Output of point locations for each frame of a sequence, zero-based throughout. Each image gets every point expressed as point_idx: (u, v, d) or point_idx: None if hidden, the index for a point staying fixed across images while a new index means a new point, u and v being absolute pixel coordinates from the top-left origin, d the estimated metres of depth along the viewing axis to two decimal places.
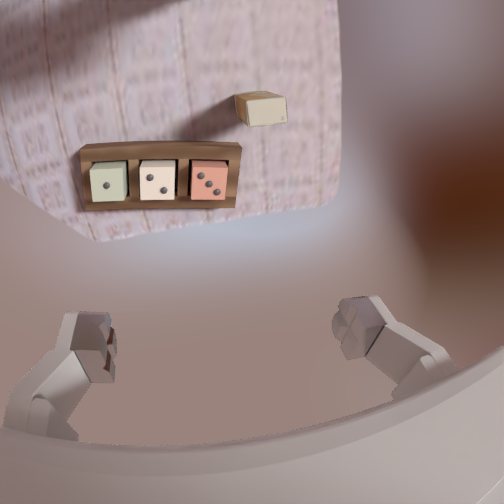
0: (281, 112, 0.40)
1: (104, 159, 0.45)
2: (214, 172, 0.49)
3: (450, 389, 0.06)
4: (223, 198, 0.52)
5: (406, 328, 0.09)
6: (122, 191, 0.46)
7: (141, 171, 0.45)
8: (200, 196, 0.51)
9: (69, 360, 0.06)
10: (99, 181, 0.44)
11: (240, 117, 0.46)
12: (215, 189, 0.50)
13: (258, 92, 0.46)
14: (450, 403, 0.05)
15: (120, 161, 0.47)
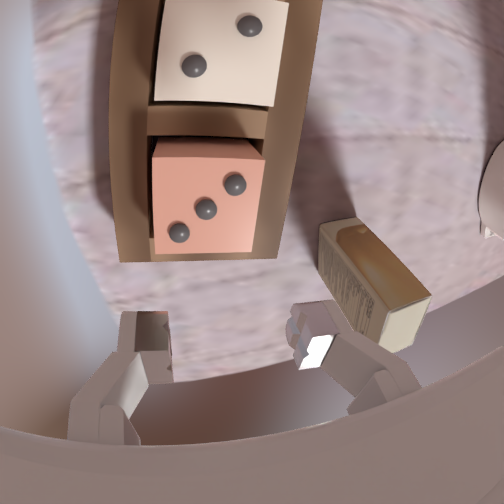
0: (392, 349, 0.21)
1: None
2: (241, 220, 0.17)
3: (450, 389, 0.06)
4: (158, 250, 0.17)
5: (363, 338, 0.08)
6: None
7: (275, 5, 0.10)
8: (162, 185, 0.15)
9: (134, 362, 0.07)
10: None
11: (348, 252, 0.23)
12: (188, 227, 0.17)
13: None
14: (450, 403, 0.05)
15: None
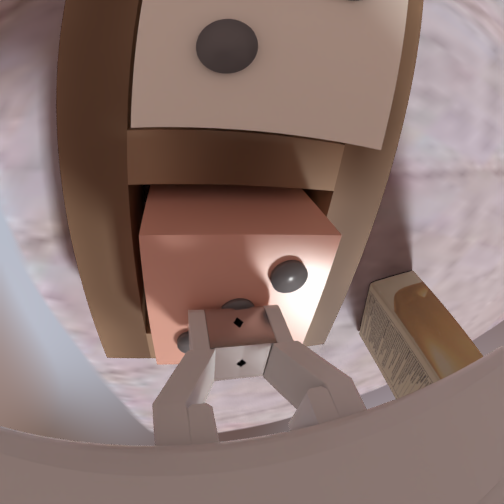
0: None
1: None
2: (291, 321, 0.11)
3: (450, 389, 0.06)
4: (162, 360, 0.11)
5: (303, 349, 0.08)
6: None
7: None
8: (160, 280, 0.08)
9: (211, 359, 0.07)
10: None
11: (411, 329, 0.16)
12: None
13: None
14: (450, 403, 0.05)
15: None
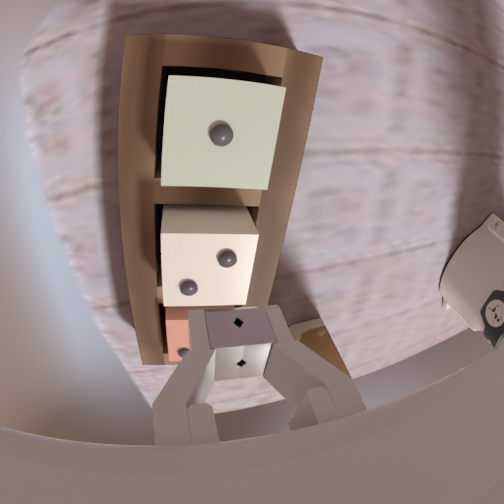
0: None
1: None
2: None
3: (450, 389, 0.06)
4: (171, 359, 0.26)
5: (303, 349, 0.08)
6: (192, 183, 0.16)
7: (247, 238, 0.18)
8: (172, 332, 0.24)
9: (211, 359, 0.07)
10: (238, 110, 0.14)
11: None
12: None
13: None
14: (450, 403, 0.05)
15: None
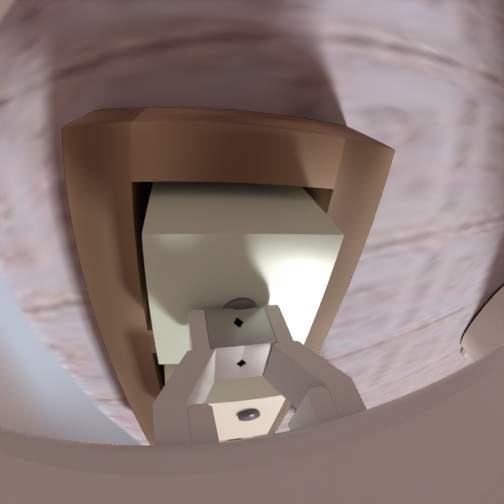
0: None
1: None
2: None
3: (450, 389, 0.06)
4: None
5: (302, 349, 0.08)
6: None
7: (273, 399, 0.14)
8: None
9: (211, 359, 0.07)
10: (266, 278, 0.09)
11: None
12: None
13: None
14: (450, 403, 0.05)
15: None
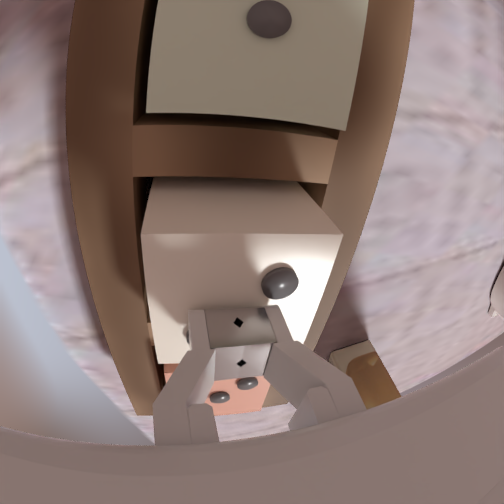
0: None
1: (364, 32, 0.08)
2: (252, 398, 0.17)
3: (450, 389, 0.06)
4: None
5: (303, 349, 0.08)
6: (209, 107, 0.07)
7: (321, 243, 0.09)
8: None
9: (211, 359, 0.07)
10: None
11: None
12: None
13: None
14: (450, 403, 0.05)
15: None
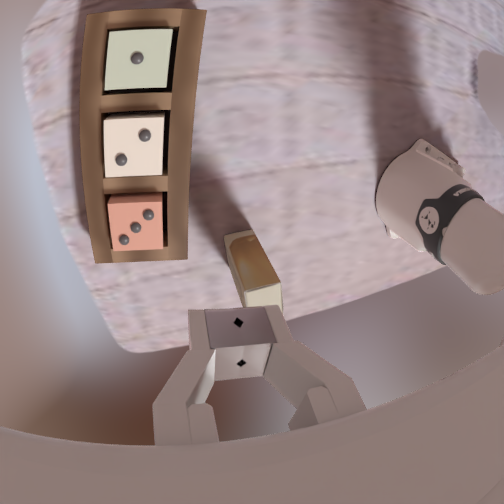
0: None
1: (179, 50, 0.23)
2: (154, 232, 0.32)
3: (450, 389, 0.06)
4: (115, 249, 0.31)
5: (303, 349, 0.08)
6: (122, 87, 0.22)
7: (156, 120, 0.25)
8: (113, 216, 0.29)
9: (211, 359, 0.07)
10: (146, 44, 0.20)
11: (234, 254, 0.37)
12: (128, 237, 0.31)
13: None
14: (450, 403, 0.05)
15: (167, 76, 0.26)
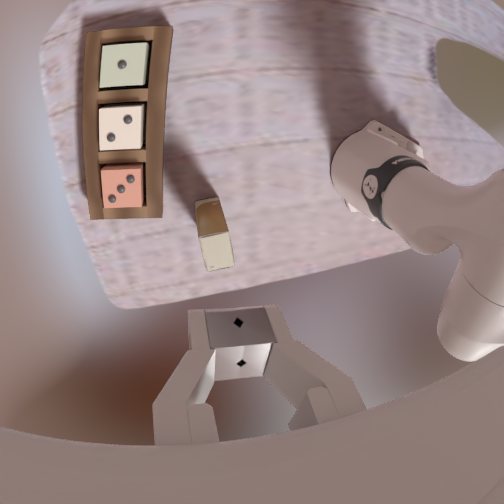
0: (217, 265, 0.42)
1: (152, 57, 0.31)
2: (135, 193, 0.40)
3: (450, 389, 0.06)
4: (105, 206, 0.40)
5: (303, 349, 0.08)
6: (111, 85, 0.30)
7: (136, 108, 0.33)
8: (104, 180, 0.38)
9: (211, 359, 0.07)
10: (128, 54, 0.29)
11: (198, 213, 0.45)
12: (115, 196, 0.39)
13: None
14: (450, 403, 0.05)
15: (146, 76, 0.34)
